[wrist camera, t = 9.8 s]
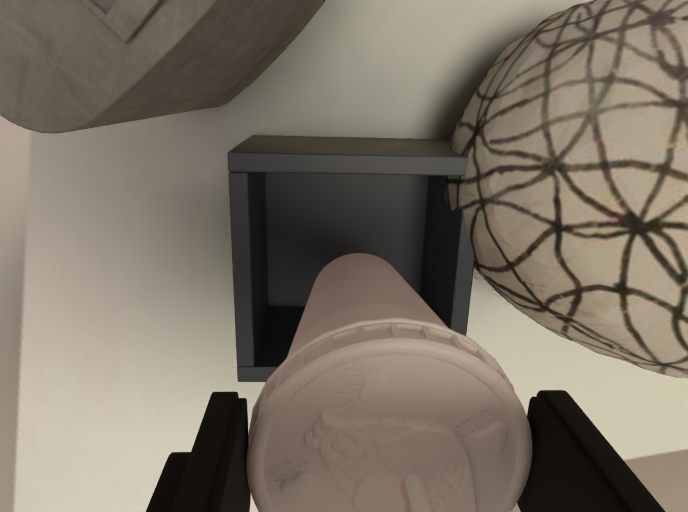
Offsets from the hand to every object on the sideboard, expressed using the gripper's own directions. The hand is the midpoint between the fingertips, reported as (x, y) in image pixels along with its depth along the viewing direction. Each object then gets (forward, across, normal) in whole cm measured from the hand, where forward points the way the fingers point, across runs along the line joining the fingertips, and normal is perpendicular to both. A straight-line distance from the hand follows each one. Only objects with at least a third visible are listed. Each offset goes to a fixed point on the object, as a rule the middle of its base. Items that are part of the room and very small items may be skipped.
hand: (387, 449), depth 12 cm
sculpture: (+19, -14, -3) cm, 24 cm away
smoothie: (+9, 0, 0) cm, 9 cm away
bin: (+19, 0, 0) cm, 19 cm away
